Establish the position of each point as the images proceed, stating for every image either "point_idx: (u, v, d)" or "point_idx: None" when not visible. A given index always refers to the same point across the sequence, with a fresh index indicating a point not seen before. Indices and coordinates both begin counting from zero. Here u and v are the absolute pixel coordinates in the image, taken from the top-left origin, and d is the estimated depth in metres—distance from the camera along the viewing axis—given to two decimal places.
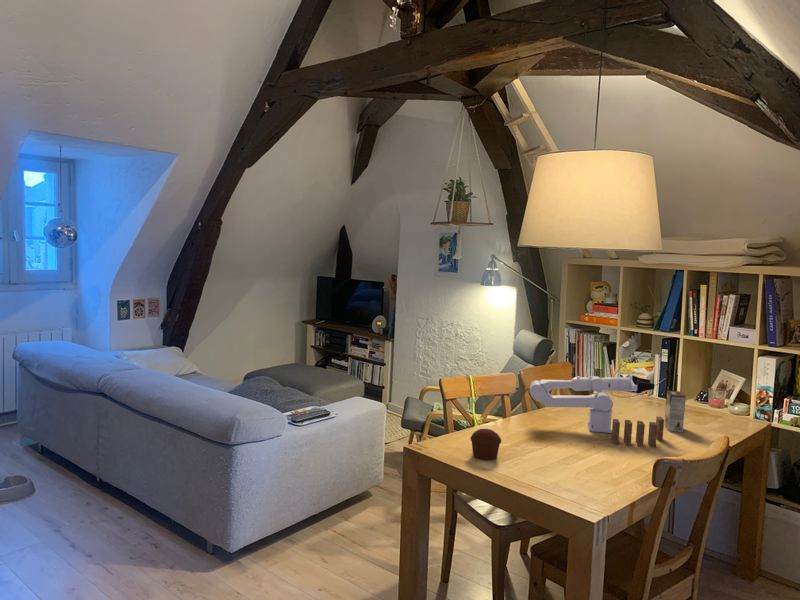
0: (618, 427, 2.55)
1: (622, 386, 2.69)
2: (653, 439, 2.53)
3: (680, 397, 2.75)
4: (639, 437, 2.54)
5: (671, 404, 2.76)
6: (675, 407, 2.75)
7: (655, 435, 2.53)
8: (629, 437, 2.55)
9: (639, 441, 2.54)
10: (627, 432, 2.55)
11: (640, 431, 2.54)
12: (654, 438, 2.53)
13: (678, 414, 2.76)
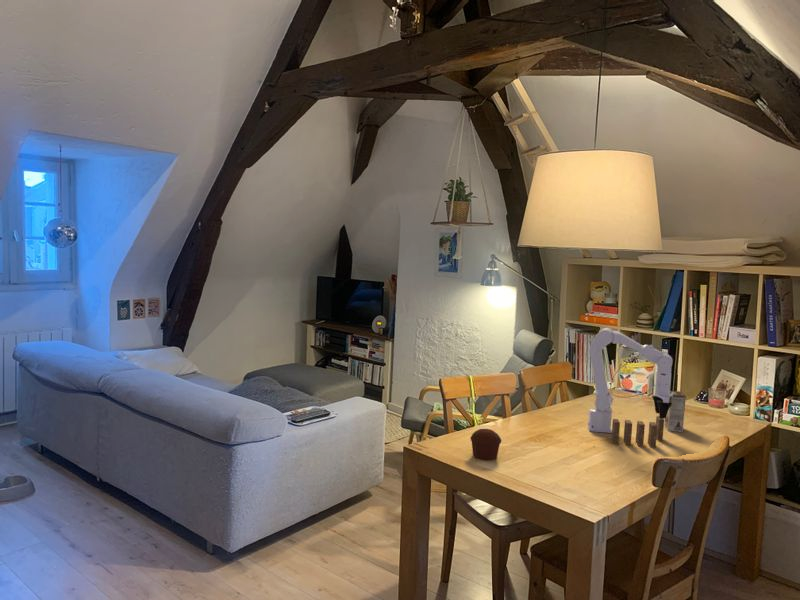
0: (618, 427, 2.55)
1: (663, 387, 2.60)
2: (653, 439, 2.53)
3: (680, 397, 2.75)
4: (639, 437, 2.54)
5: None
6: (675, 407, 2.75)
7: (655, 435, 2.53)
8: (629, 437, 2.55)
9: (639, 441, 2.54)
10: (627, 432, 2.55)
11: (640, 431, 2.54)
12: (654, 438, 2.53)
13: (678, 414, 2.76)
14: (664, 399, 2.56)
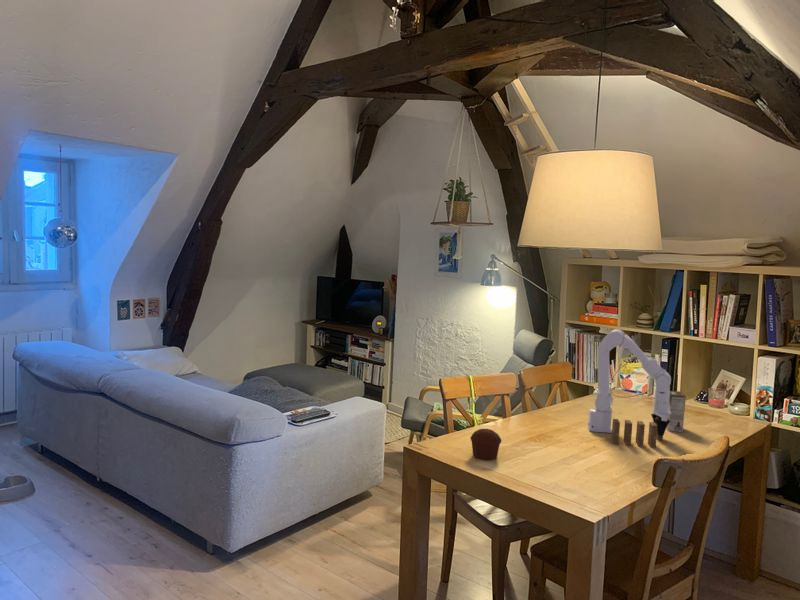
0: (618, 427, 2.55)
1: (661, 405, 2.61)
2: (653, 439, 2.53)
3: (680, 397, 2.75)
4: (639, 437, 2.54)
5: (671, 404, 2.76)
6: (675, 407, 2.75)
7: (655, 435, 2.53)
8: (629, 437, 2.55)
9: (639, 441, 2.54)
10: (627, 432, 2.55)
11: (640, 431, 2.54)
12: (654, 438, 2.53)
13: (678, 414, 2.76)
14: (662, 417, 2.57)
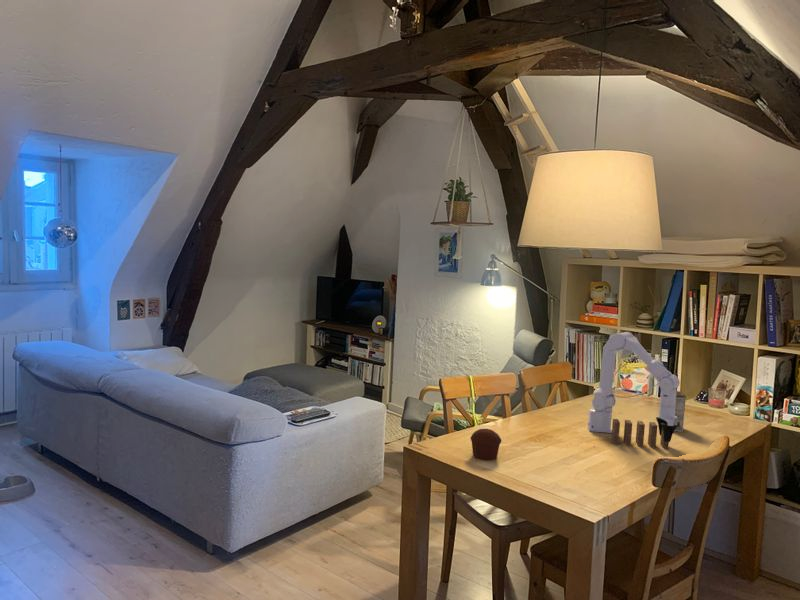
0: (618, 427, 2.55)
1: (667, 409, 2.51)
2: (653, 439, 2.53)
3: (680, 397, 2.75)
4: (639, 437, 2.54)
5: None
6: (675, 407, 2.75)
7: (655, 435, 2.53)
8: (629, 437, 2.55)
9: (639, 441, 2.54)
10: (627, 432, 2.55)
11: (640, 431, 2.54)
12: (654, 438, 2.53)
13: (678, 414, 2.76)
14: (669, 422, 2.47)
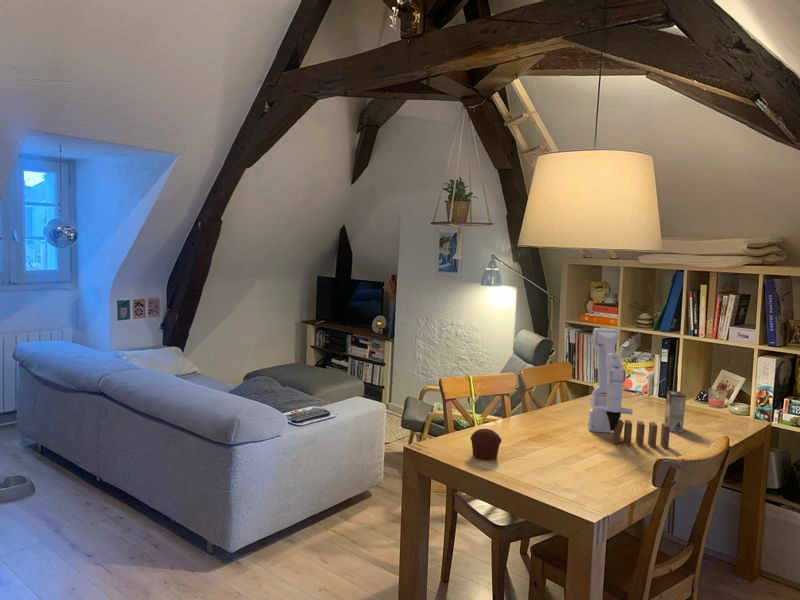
0: (621, 427, 2.55)
1: (606, 399, 2.58)
2: (653, 439, 2.53)
3: (680, 397, 2.75)
4: (639, 437, 2.54)
5: (671, 404, 2.76)
6: (675, 407, 2.75)
7: (655, 435, 2.53)
8: (629, 437, 2.55)
9: (639, 441, 2.54)
10: (627, 432, 2.55)
11: (640, 431, 2.54)
12: (654, 438, 2.53)
13: (678, 414, 2.76)
14: (594, 407, 2.59)
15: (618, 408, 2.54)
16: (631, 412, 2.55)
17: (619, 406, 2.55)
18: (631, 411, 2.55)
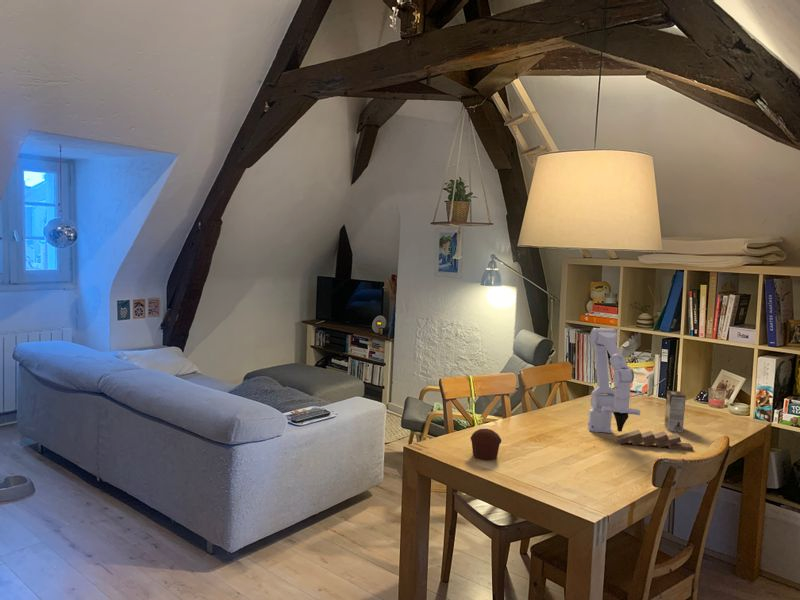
0: (637, 438, 2.54)
1: (614, 399, 2.57)
2: (666, 443, 2.52)
3: (680, 397, 2.75)
4: (653, 439, 2.53)
5: (671, 404, 2.76)
6: (675, 407, 2.75)
7: (670, 443, 2.52)
8: (640, 441, 2.54)
9: (649, 441, 2.54)
10: (644, 438, 2.54)
11: (660, 438, 2.53)
12: (667, 443, 2.52)
13: (678, 414, 2.76)
14: (602, 408, 2.59)
15: (626, 409, 2.54)
16: (639, 413, 2.55)
17: (627, 407, 2.54)
18: (639, 412, 2.55)
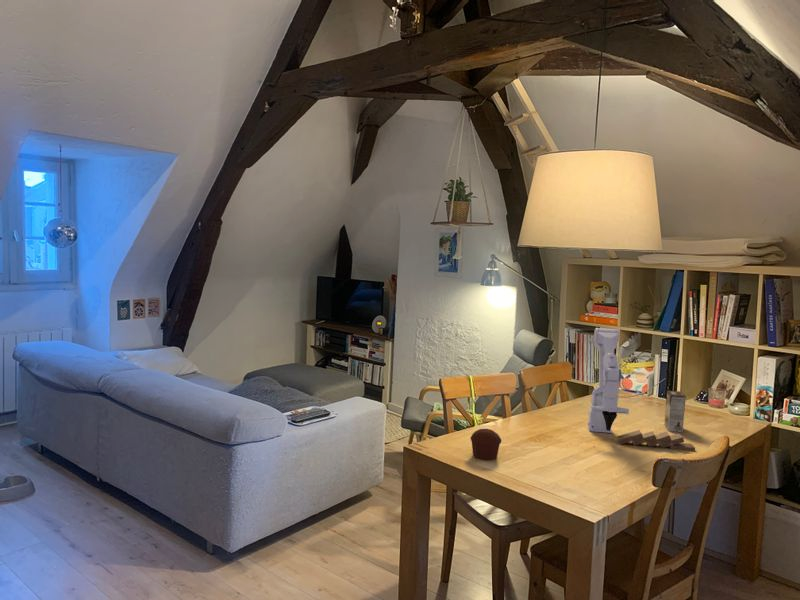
0: (637, 438, 2.54)
1: (603, 399, 2.58)
2: (669, 443, 2.52)
3: (680, 397, 2.75)
4: (656, 440, 2.53)
5: (671, 404, 2.76)
6: (675, 407, 2.75)
7: (673, 443, 2.52)
8: (641, 441, 2.54)
9: (652, 442, 2.53)
10: (645, 438, 2.53)
11: (662, 438, 2.52)
12: (670, 443, 2.52)
13: (678, 414, 2.76)
14: (591, 407, 2.59)
15: (614, 408, 2.55)
16: (627, 412, 2.55)
17: (615, 406, 2.55)
18: (627, 411, 2.55)
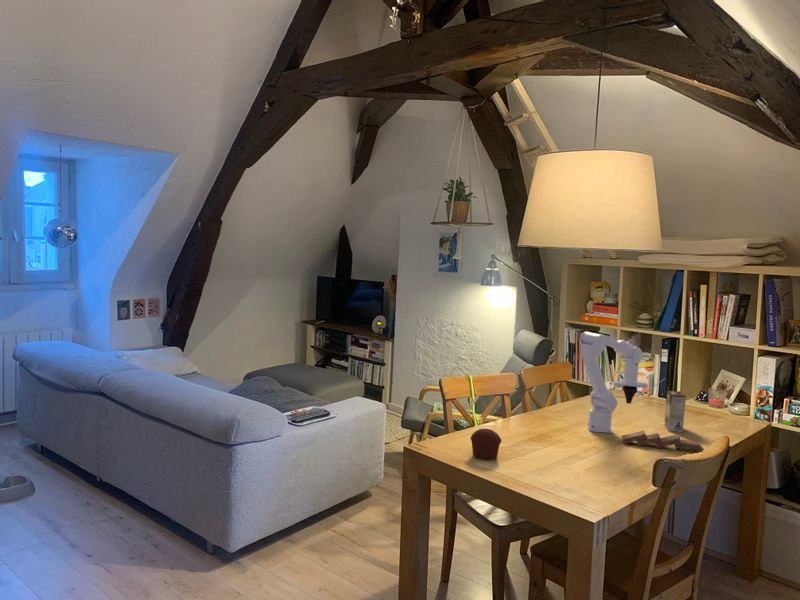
0: (641, 438, 2.54)
1: (624, 374, 2.80)
2: (685, 445, 2.50)
3: (680, 397, 2.75)
4: (664, 442, 2.51)
5: (671, 404, 2.76)
6: (675, 407, 2.75)
7: (689, 447, 2.50)
8: (645, 442, 2.54)
9: (660, 443, 2.52)
10: (650, 439, 2.53)
11: (671, 441, 2.50)
12: (686, 446, 2.50)
13: (678, 414, 2.76)
14: (613, 383, 2.81)
15: (635, 382, 2.78)
16: (646, 385, 2.79)
17: (636, 380, 2.78)
18: (646, 385, 2.79)
